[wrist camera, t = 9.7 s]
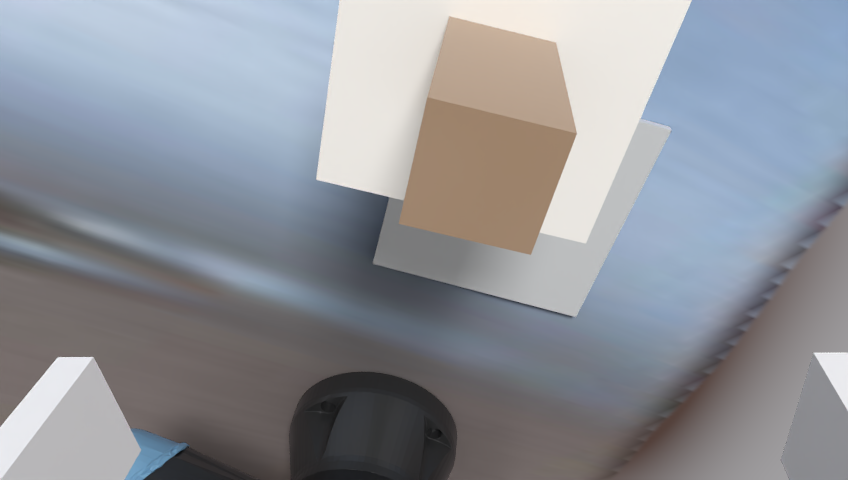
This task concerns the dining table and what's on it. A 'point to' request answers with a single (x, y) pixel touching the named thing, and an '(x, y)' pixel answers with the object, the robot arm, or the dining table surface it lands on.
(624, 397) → the dining table surface
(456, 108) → the square plate with block
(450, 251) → the mat
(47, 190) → the dining table surface
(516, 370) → the dining table surface
